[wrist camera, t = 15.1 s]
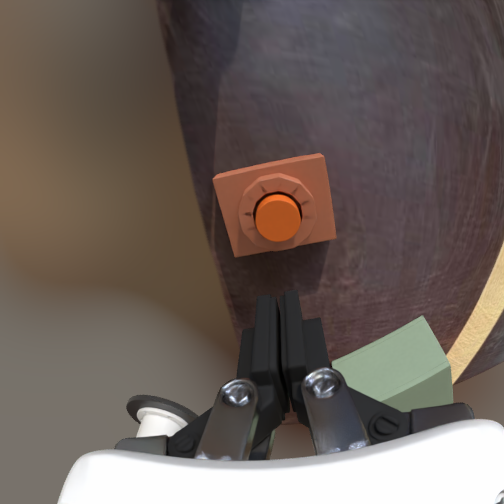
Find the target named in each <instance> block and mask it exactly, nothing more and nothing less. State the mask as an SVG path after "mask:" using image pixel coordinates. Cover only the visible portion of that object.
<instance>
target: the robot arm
mask: <svg viewBox="0 0 504 504" xmlns="http://www.w3.org/2000/svg"><path fill="white" fill-rule="evenodd" d="M289 397H290V400H291V404H292V408H293V411H294V412H296V413H297V417H298V421H299V422H300V423H302V424H303V425H305V426H306V427H308V428H309V431H310V434H311V439H312V442H313V446H314V450H315V454H316V456H311V457H302V458H292V459H279V460H270V456H271V452H272V447H273V442H274V437H275V429H276V428H277V427H278V426H279V425H280V424H281V423H282V420H285V413H289V412H290V400H289ZM137 418H138V420H139V421H140V422H141V425H140V428H139V430H138V433H137V436H136V437H135V438H125V439H122V440H121V441H119V442H118V443H117V444H116V446H115V449H108V450H100V451H95V452H91V453H87V454H85V455H83V456H81V457H80V458H79V459H78V460H77V461H76V462H75V464H74V465H73V467H72V468H71V470H70V472H69V474H68V477H67V479H66V481H65V484H64V486H63V489H62V491H61V494H60V497H59V500H58V503H57V504H504V428H503V427H502V426H501V425H500V424H499V423H497V422H495V421H492V420H485V419H475V418H474V413H473V410H472V408H471V407H470V406H469V405H468V404H465V403H453V404H447V405H441V406H434V407H426V408H418V409H411V411H410V412H401V411H399V410H398V409H395V408H393V407H391V406H389V405H386V404H384V403H382V402H380V401H378V400H376V399H373V398H371V397H369V396H367V395H365V394H363V393H361V392H359V391H357V390H355V389H353V388H351V387H349V386H347V383H346V381H345V378H344V377H343V375H342V374H341V372H339V371H338V370H336V369H333V368H330V364H329V359H328V353H327V348H326V343H325V338H324V333H323V328H322V323H321V318H314V319H308V320H303V319H302V313H301V308H300V302H299V296H298V291H297V290H293V291H287V292H284V296H280V311H279V307H278V303H277V298H276V297H271V295H270V294H269V295H263V296H257V303H256V316H255V328H250V329H244V330H243V332H242V339H241V346H240V354H239V362H238V369H237V377H236V379H232V380H230V381H228V382H226V383H225V384H224V385H223V386H222V387H221V388H220V390H219V392H218V394H217V397H216V399H215V403H214V405H213V407H212V408H210V409H209V410H207V411H206V412H205V413H203V414H202V415H201V416H199V417H198V418H196V419H195V420H193V421H192V422H191V423H189V424H188V423H187V422H186V421H185V420H183V419H182V418H180V417H179V416H177V415H175V414H173V413H170V412H168V411H165V410H162V409H157V408H151V407H145V408H141V409H139V410H138V413H137Z"/></svg>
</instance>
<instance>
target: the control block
mask: <svg viewBox="0 0 504 504" xmlns="http://www.w3.org/2000/svg"><path fill="white" fill-rule="evenodd" d="M212 180H213V184H214V187H215V191H216V194H217V198H218V201H219V205H220V208H221V212H222V215H223V219H224V222H225V226H226V229H227V232H228V236H229V239H230V243H231V246H232V249H233V253H234V256H235V257H241V256H246V255H252V254H257V253H262V252H268V251H281V250H286V249H292V248H295V247H296V246H300V245H305V244H311V243H316V242H322V241H327V240H332V239H336V231H335V223H334V215H333V208H332V201H331V194H330V188H329V181H328V175H327V169H326V164H325V158H324V156H323V155H322V154H320V153H317V154H311V155H305V156H300V157H294V158H289V159H284V160H279V161H274V162H269V163H264V164H259V165H255V166H250V167H246V168H242V169H237V170H233V171H229V172H225V173H221V174H217V175H216V176H215V177H214V178H213V179H212ZM274 194H281V195H285V196H287V197H289V198H291V199H292V200H293V201H294V202H295V203H296V205H297V207H298V210H299V214H300V219H301V223H300V227H299V229H298V231H297V233H296V234H295V235H294V236H293V237H292V238H290V239H288V240H286V241H282V242H274V241H270V240H268V239H266V238H264V237H263V236H262V235H261V234H260V233H259V231H258V230H257V227H256V223H255V219H256V212H257V208H258V205H259V204H260V202H261V201H262V200H263V199H264V198H266V197H268V196H270V195H274Z"/></svg>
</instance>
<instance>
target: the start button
mask: <svg viewBox="0 0 504 504" xmlns="http://www.w3.org/2000/svg"><path fill="white" fill-rule="evenodd" d="M255 223H256V227H257V230H258V231H259V233H260V234H261V235H262V236H263V237H264V238H266V239H268V240H270V241H274V242H282V241H286V240H288V239H290V238H292V237H293V236H294V235H295V234H296V233H297V231H298V229H299V227H300V223H301V219H300V214H299V210H298V207H297V205H296V203H295V202H294V201H293V200H292V199H291V198H289V197H287V196H285V195H281V194H274V195H270V196H268V197H266V198H264V199H263V200H262V201H261V202H260V204H259V205H258V208H257V212H256V219H255Z"/></svg>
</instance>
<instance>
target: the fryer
mask: <svg viewBox="0 0 504 504" xmlns="http://www.w3.org/2000/svg"><path fill="white" fill-rule="evenodd" d="M332 368H333V369H336V370H338V371H339V372H341V374H342V375H343V377H344V378H345V381H346V383H347V386H349V387H351V388H353V389H355V390H357V391H359V392H361V393H363V394H365V395H367V396H369V397H371V398H373V399H376V400H378V401H380V402H382V403H384V404H386V405H389V406H391V407H393V408H395V409H398V410H399V411H401V412H410V411H411V409H418V408H426V407H434V406H441V405H447V404H452V403H453V391H452V377H451V366H450V363H449V361H448V359H447V357H446V356H445V354H444V352H443V350H442V348H441V346H440V345H439V343H438V341H437V339H436V337H435V336H434V334H433V332H432V330H431V329H430V327H429V325H428V324H427V322H426V320H425V319H424V317H423V316H420V317H419V318H417V319H415V320H413V321H412V322H410V323H408V324H406V325H405V326H403V327H401V328H399V329H397V330H396V331H394V332H392V333H390V334H388V335H386V336H384V337H383V338H381V339H379V340H377V341H375V342H373V343H371V344H369V345H367V346H365V347H363V348H361V349H358V350H356V351H354V352H352V353H350V354H348V355H346V356H343V357H341V358H339V359H337V360H335V361H332Z"/></svg>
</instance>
